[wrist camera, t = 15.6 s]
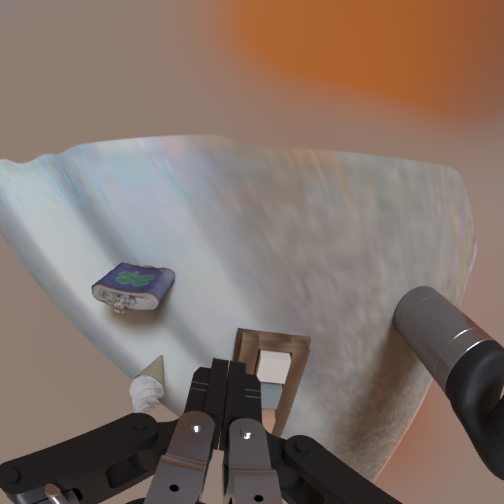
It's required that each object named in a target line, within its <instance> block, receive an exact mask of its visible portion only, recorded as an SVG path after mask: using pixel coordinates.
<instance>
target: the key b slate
mask: <svg viewBox="0 0 504 504" xmlns="http://www.w3.org/2000/svg"><path fill="white" fill-rule="evenodd" d="M260 382H261V381H260ZM282 391H283V390H282V384H281V383H271V382H261V403H262V408H266V409H277V407H278V404H279V400H280V397H281V394H282Z"/></svg>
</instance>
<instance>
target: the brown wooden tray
mask: <svg viewBox="0 0 504 504" xmlns="http://www.w3.org/2000/svg"><path fill="white" fill-rule="evenodd" d="M310 342H311V339H310V337H306V336H296V335H287V334H279V333H271V332H263V331H256V330H248V329H241V328H238V333H237V339H236V345H235V351H234V357H233V361H237V362H244V363H246V374H254V375H256V374H255V368H256V363H257V359H258V354H259V350H260V349H263V350H271V351H280V352H289V353H290V358H291V363H290V367H289V370H288V374H287V377H286V381H285V384H282V390H283V391H282V394H281V397H280V400H279V404H278V407H277V409H274V410H275V424H274V427H273V430H272V433H271V434H272V435H274V436H276V437H279V438H280V437H281V435H282V432H283V429H284V426H285V424H286V421H287V418H288V415H289V413H290V410H291V407H292V404H293V401H294V398H295V395H296V392H297V389H298V386H299V383H300V380H301V377H302V374H303V371H304V368H305V365H306V362H307V358H308V355H309V352H310V350H309V346H310Z"/></svg>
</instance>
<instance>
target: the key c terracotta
mask: <svg viewBox="0 0 504 504" xmlns="http://www.w3.org/2000/svg"><path fill="white" fill-rule="evenodd" d="M262 423H263V426H264V428H265V429H266V430H267V431H268V432H269V433H270V434H271V433H272V430H273V427H274V424H275V410H274V409H266V408H262Z"/></svg>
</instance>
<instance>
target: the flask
mask: <svg viewBox="0 0 504 504" xmlns="http://www.w3.org/2000/svg"><path fill="white" fill-rule="evenodd" d="M174 281H175V273H174V272H173V271H172V270H170V269H167V268H163V267H162V268H155V267H153V266H143V267H140V266H139V265H132V264H129V263H124V262H122V263H120V264H119V265H117V267H116V268H115V269H113V270H112V271H110V272H109V273H108V274H107V275H106V276H104V277H103V278H102V279H101V280H99V281H98V282H96V283H95V284H94V285H92V294H93V296H94V298H96V299H97V300H99V301H101V302H104V303H106V304H109V305H112V306H114V307H116V308H118V309H120V310H121V309H123V308H124V309H131V310H153V309H156V308H158V306H159V304H160V302H161V301H162V299H163V298H164V296H165V295H166V293H167V291H168V290H169V288H170V287H171V285H172V284H173V283H174ZM114 312H116V313H118V314H120V313H121V312H120V311H119V310H116V309H114ZM122 313H124V311H123V312H122Z"/></svg>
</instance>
